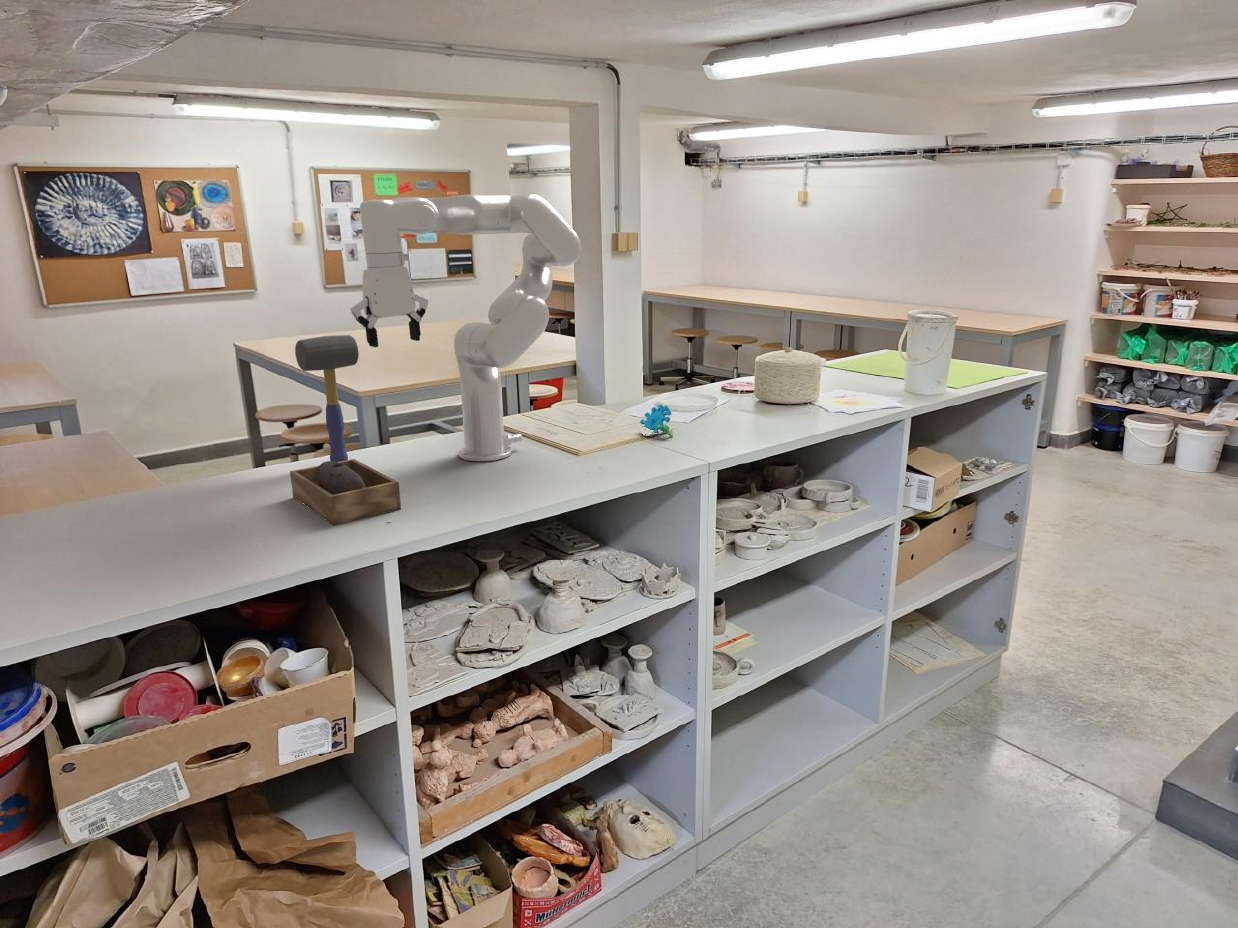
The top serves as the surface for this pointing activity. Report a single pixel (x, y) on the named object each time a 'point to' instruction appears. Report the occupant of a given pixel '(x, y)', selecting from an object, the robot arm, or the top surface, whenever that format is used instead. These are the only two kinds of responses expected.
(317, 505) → the box
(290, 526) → the top surface
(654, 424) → the blue bumpy cluster
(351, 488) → the perforated stone tool
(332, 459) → the rubber mallet
